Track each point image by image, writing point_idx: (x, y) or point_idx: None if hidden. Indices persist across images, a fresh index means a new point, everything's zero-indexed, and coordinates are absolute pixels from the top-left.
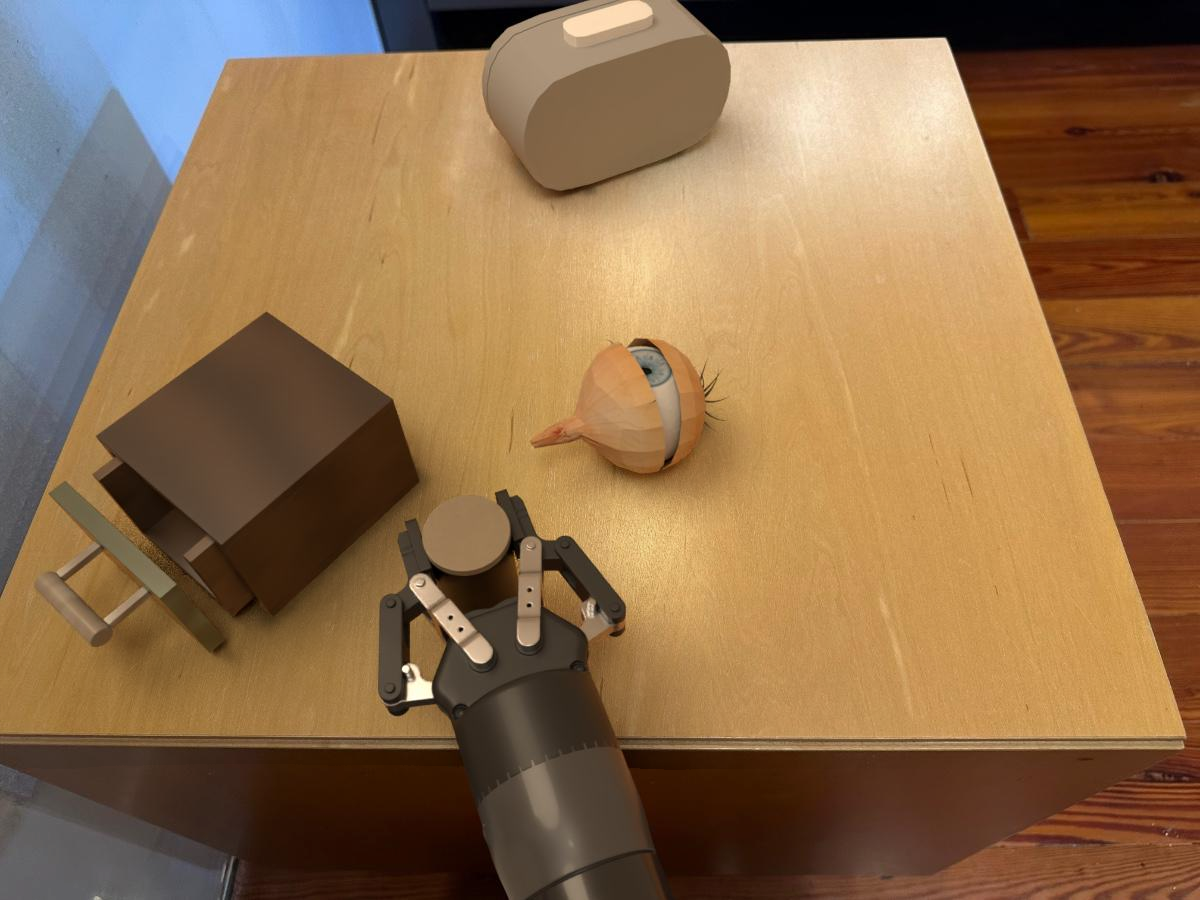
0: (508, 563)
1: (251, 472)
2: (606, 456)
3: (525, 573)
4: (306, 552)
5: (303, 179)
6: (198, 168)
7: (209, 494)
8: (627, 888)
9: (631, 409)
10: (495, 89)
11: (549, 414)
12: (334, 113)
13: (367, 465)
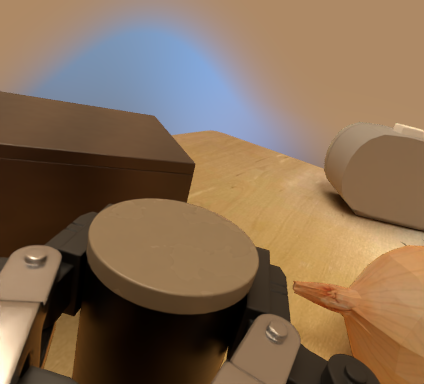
0: (210, 348)
1: (38, 132)
2: (367, 353)
3: (243, 369)
4: None
5: (215, 155)
6: (175, 136)
7: None
8: None
9: None
10: (339, 142)
11: (303, 302)
12: (244, 150)
13: None
